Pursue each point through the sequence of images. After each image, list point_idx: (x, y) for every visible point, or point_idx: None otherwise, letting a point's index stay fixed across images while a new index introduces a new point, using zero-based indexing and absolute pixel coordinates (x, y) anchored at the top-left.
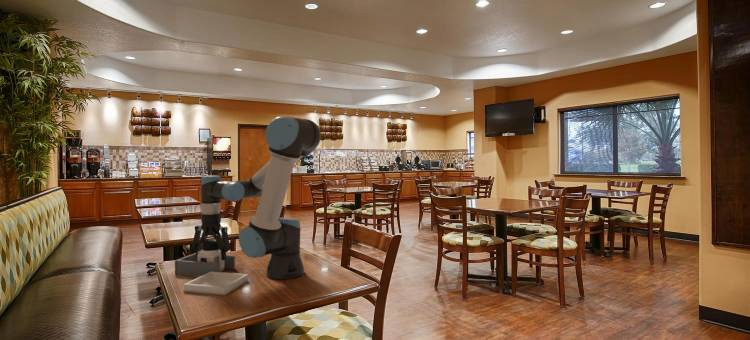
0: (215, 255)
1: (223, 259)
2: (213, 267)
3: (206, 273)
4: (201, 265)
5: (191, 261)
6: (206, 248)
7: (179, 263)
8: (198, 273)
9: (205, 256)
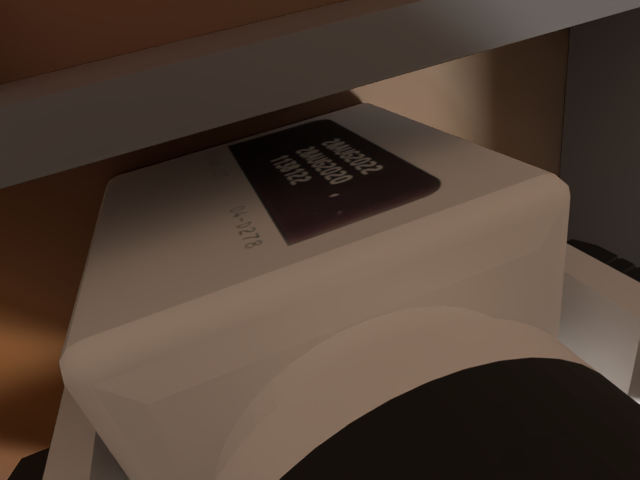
0: (110, 436)
1: (25, 470)
2: None
3: (118, 59)
4: (240, 38)
5: (538, 7)
6: (473, 471)
7: None
8: (272, 19)
9: (335, 249)
